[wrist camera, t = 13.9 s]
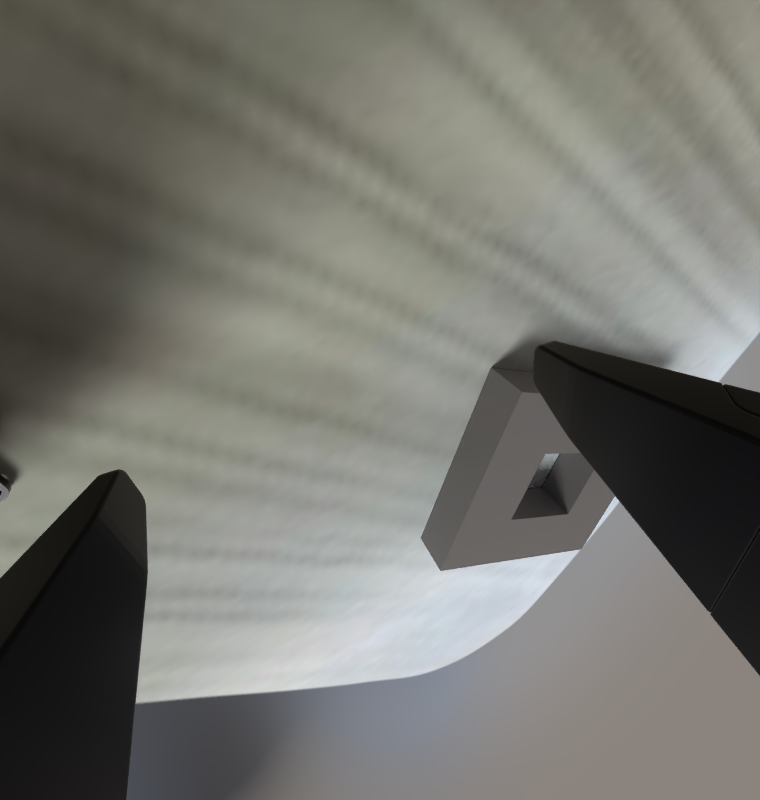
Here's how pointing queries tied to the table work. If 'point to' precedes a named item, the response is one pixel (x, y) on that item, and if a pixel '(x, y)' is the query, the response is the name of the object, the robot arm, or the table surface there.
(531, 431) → the grey square socket base
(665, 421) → the robot arm
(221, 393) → the table surface
